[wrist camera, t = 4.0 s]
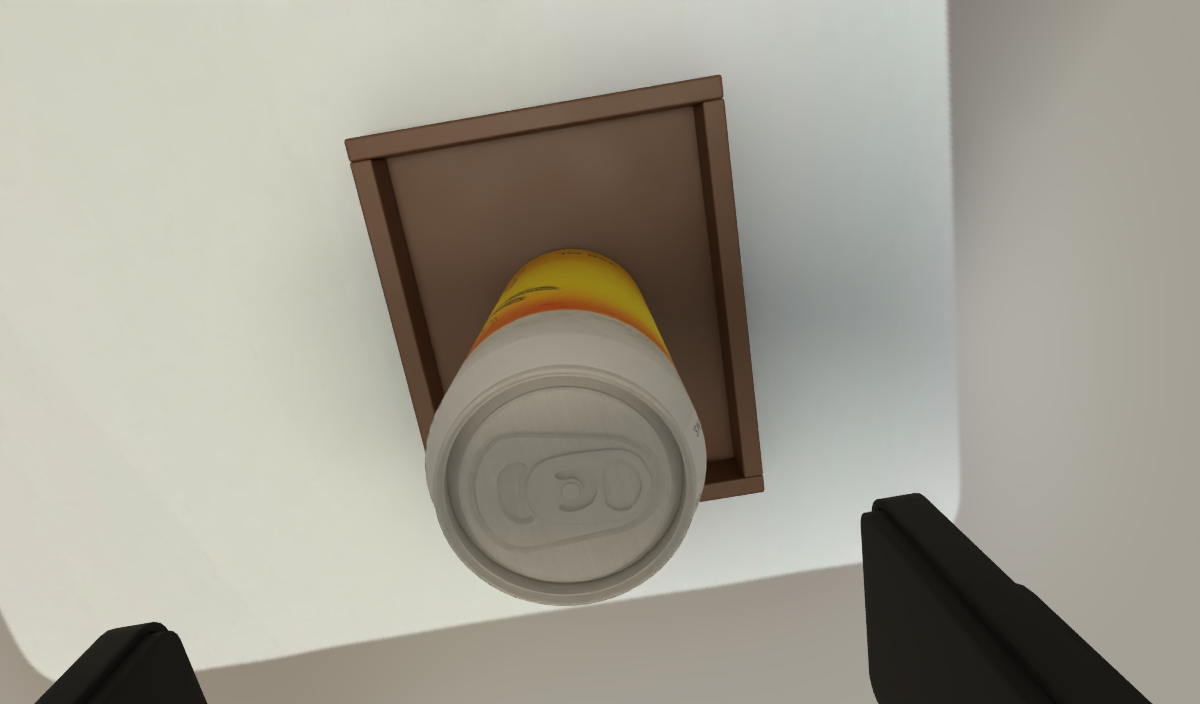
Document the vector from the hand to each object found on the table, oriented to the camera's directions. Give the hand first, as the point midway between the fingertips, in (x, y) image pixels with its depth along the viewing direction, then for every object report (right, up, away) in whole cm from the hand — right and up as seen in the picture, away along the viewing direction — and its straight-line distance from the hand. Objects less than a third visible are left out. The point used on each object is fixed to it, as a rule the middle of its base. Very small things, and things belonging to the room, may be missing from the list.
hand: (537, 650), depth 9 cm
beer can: (0, +5, +19) cm, 20 cm away
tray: (0, +6, +19) cm, 20 cm away
